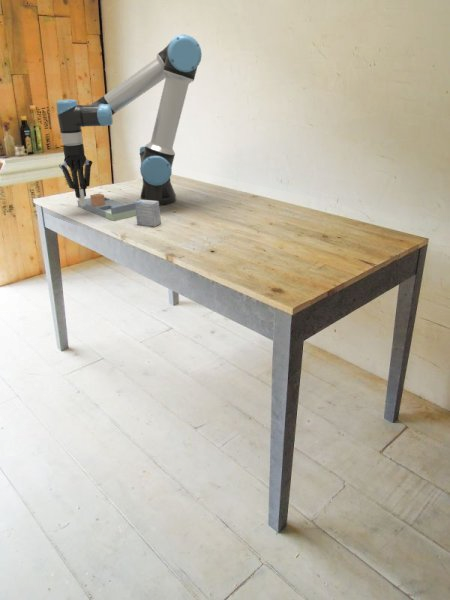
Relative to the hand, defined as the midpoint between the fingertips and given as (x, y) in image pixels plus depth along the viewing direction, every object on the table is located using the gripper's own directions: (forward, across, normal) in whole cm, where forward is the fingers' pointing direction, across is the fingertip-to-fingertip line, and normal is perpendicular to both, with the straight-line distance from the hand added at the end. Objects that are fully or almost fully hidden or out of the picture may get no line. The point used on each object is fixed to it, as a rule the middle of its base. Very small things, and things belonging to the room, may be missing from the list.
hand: (82, 205), depth 199 cm
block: (+1, -7, 0) cm, 7 cm away
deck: (+4, -9, +2) cm, 10 cm away
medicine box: (+4, -11, +30) cm, 33 cm away
